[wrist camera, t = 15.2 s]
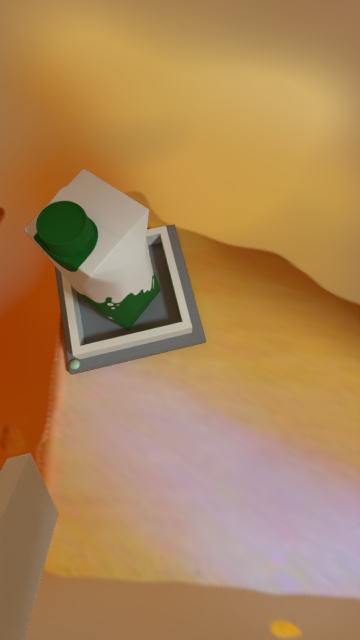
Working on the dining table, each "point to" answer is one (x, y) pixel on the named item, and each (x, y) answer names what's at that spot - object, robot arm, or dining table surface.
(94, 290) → the soya milk
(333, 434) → the dining table surface
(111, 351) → the dock
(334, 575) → the dining table surface
